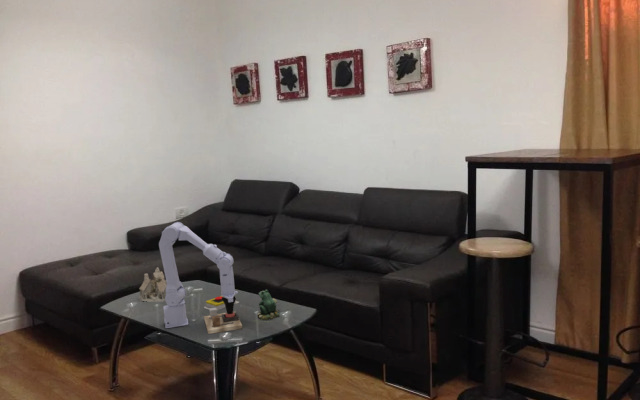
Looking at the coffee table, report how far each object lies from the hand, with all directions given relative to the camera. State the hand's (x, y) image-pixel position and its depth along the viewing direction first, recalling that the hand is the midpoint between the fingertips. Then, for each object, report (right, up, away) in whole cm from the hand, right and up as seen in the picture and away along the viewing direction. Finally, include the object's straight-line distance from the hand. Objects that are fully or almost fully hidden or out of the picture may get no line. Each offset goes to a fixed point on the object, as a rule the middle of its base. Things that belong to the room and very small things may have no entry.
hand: (230, 313), depth 235 cm
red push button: (0, -2, 0) cm, 2 cm away
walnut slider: (-4, -3, -7) cm, 9 cm away
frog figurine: (+16, -3, +7) cm, 18 cm away
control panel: (-3, -4, -1) cm, 5 cm away
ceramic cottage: (-44, -1, +41) cm, 60 cm away
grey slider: (-8, -2, +3) cm, 8 cm away
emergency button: (-8, -2, +24) cm, 25 cm away
